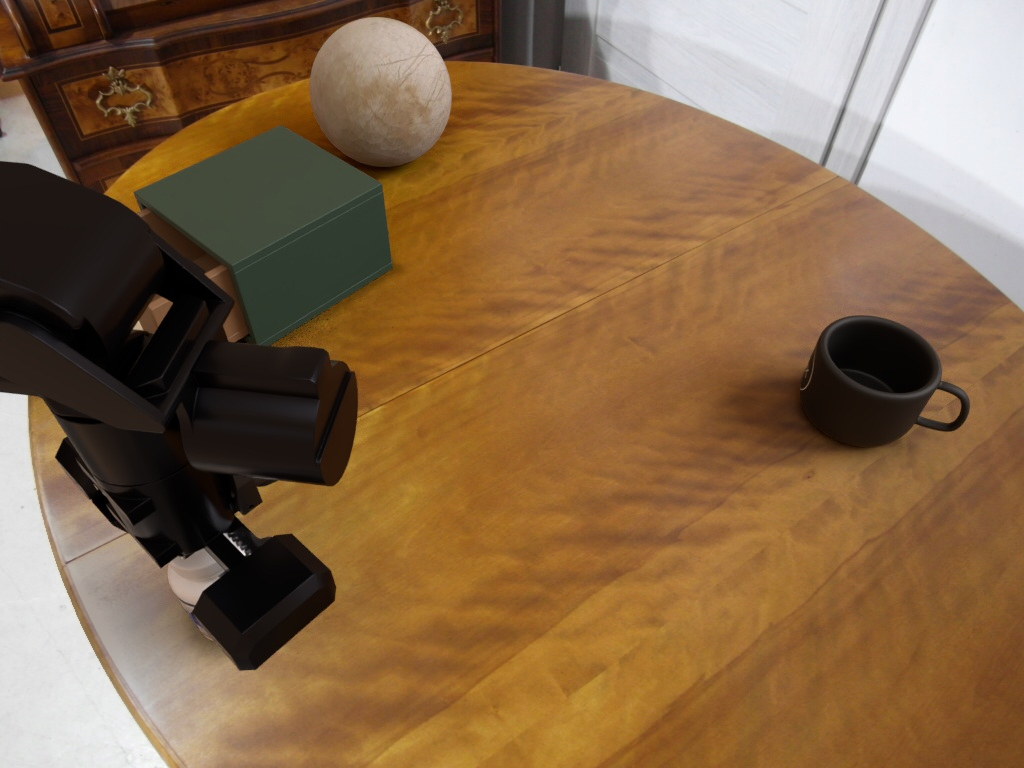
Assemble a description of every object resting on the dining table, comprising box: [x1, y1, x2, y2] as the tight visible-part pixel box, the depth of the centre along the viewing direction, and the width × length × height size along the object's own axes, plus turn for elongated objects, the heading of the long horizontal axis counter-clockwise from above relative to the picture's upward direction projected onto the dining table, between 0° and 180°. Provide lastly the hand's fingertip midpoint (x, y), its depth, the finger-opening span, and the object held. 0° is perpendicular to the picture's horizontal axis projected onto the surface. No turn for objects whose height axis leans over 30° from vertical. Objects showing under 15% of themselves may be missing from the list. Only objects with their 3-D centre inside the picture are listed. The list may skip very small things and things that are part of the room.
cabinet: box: [133, 124, 394, 346], centre depth 71 cm, size 16×15×10 cm
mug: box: [799, 314, 971, 448], centre depth 61 cm, size 12×9×7 cm
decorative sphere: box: [309, 16, 453, 168], centre depth 83 cm, size 15×15×15 cm
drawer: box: [133, 208, 249, 343], centre depth 65 cm, size 19×13×8 cm
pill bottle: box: [167, 533, 250, 642], centre depth 48 cm, size 5×5×9 cm
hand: (227, 589), depth 50 cm, fingers open, 7 cm apart
